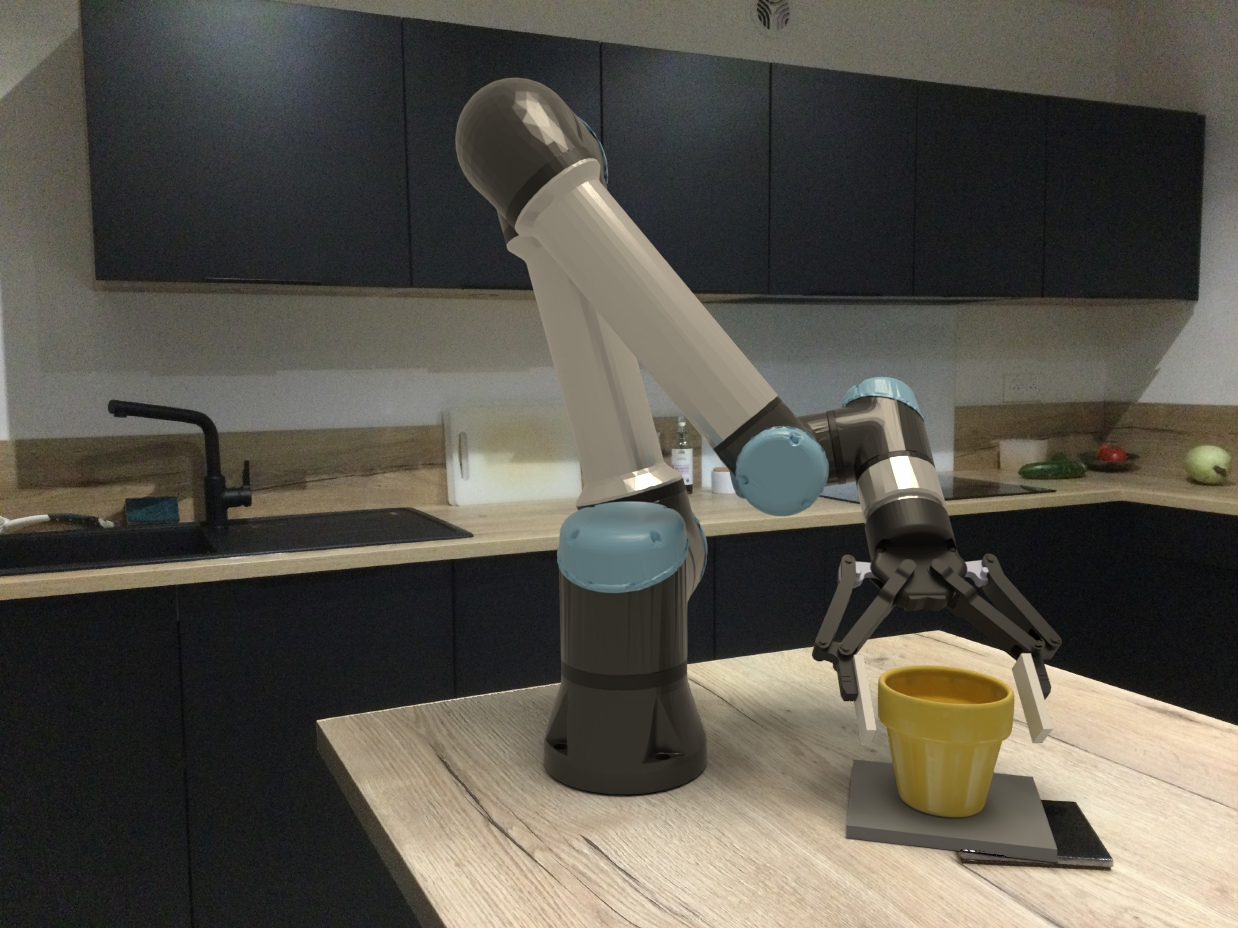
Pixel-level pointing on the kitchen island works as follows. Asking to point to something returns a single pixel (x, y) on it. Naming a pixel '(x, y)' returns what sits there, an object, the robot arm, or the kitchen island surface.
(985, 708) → the plant pot
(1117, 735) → the kitchen island surface
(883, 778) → the trivet mat
